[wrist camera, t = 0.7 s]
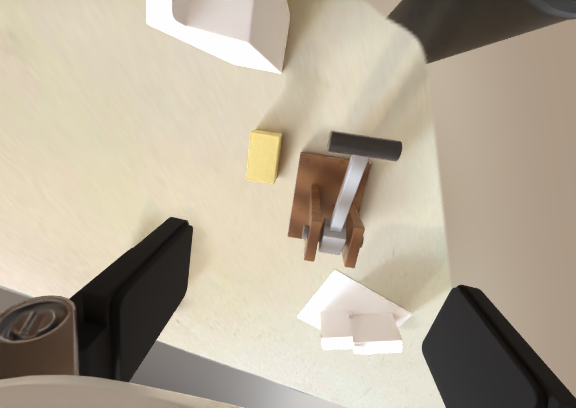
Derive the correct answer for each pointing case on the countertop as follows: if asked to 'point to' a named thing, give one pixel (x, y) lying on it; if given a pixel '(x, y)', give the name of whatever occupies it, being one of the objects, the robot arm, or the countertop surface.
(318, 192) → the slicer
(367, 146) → the lever
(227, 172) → the countertop surface
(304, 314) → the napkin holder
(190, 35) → the milk
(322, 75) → the countertop surface
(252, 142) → the butter
